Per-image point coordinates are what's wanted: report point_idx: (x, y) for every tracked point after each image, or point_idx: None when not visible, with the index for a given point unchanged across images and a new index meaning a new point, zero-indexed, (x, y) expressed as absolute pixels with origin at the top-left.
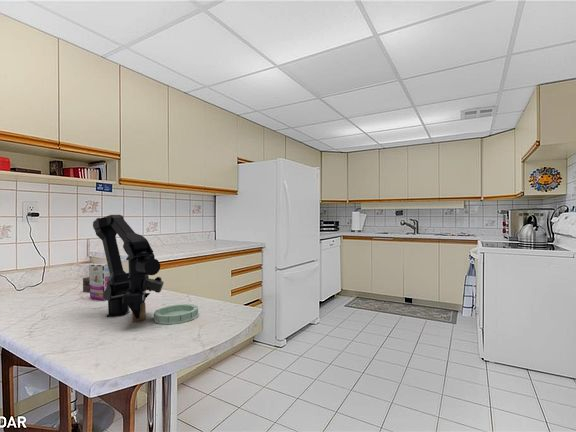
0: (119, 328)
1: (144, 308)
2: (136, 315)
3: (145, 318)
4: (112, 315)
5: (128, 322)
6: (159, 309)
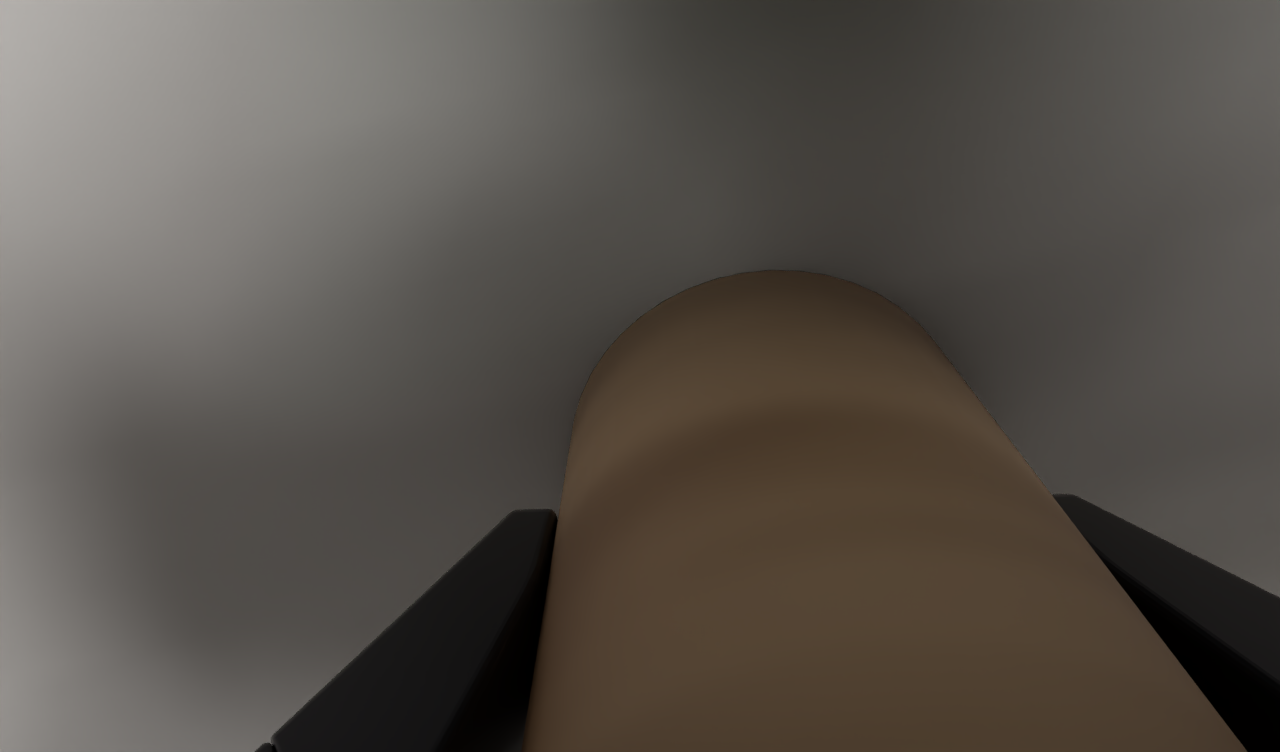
0: None
1: (1020, 541)
2: None
3: (815, 293)
4: None
5: None
6: None
